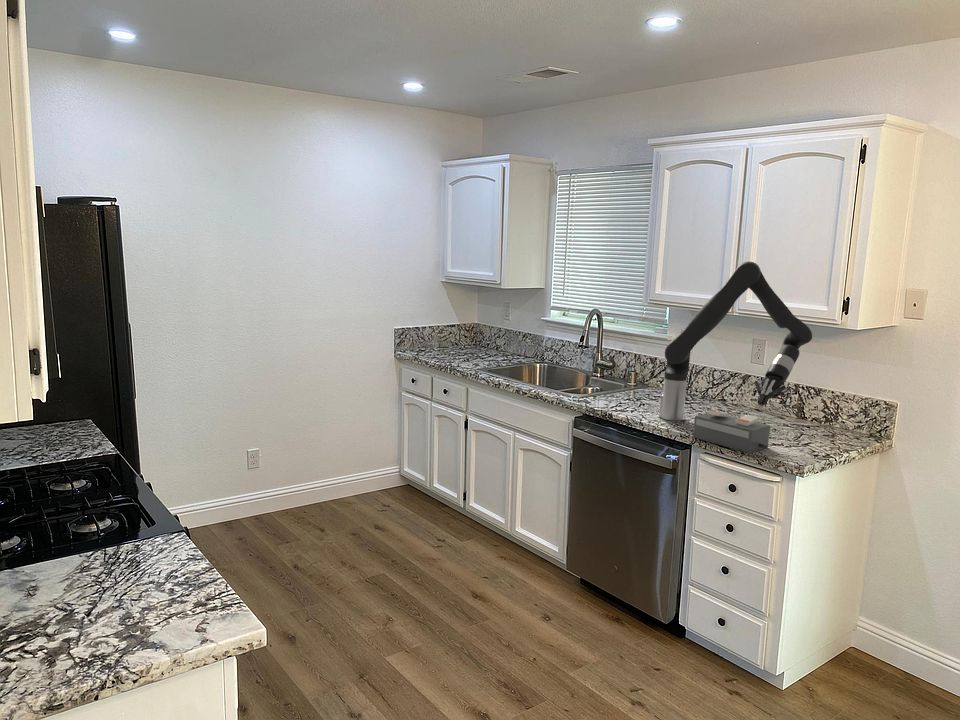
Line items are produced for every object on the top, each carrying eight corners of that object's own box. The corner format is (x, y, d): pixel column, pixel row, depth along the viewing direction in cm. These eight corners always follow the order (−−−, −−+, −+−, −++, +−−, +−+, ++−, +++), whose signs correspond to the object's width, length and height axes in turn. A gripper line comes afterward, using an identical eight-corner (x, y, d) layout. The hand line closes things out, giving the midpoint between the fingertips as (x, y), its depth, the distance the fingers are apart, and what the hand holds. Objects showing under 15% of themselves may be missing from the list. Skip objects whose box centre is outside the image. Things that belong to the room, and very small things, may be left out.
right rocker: (735, 423, 264) (735, 419, 264) (745, 417, 269) (745, 414, 268) (747, 426, 261) (747, 422, 260) (758, 420, 265) (758, 417, 264)
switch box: (692, 437, 276) (694, 416, 274) (711, 432, 284) (713, 411, 282) (756, 455, 255) (759, 432, 254) (775, 449, 263) (777, 427, 262)
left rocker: (707, 413, 273) (707, 409, 273) (717, 413, 278) (717, 410, 278) (718, 415, 269) (719, 412, 269) (728, 416, 274) (729, 413, 274)
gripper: (761, 360, 277) (740, 394, 272) (794, 365, 267) (773, 401, 261) (767, 372, 281) (747, 406, 276) (799, 378, 271) (779, 414, 266)
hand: (760, 404), depth 269 cm, fingers closed
